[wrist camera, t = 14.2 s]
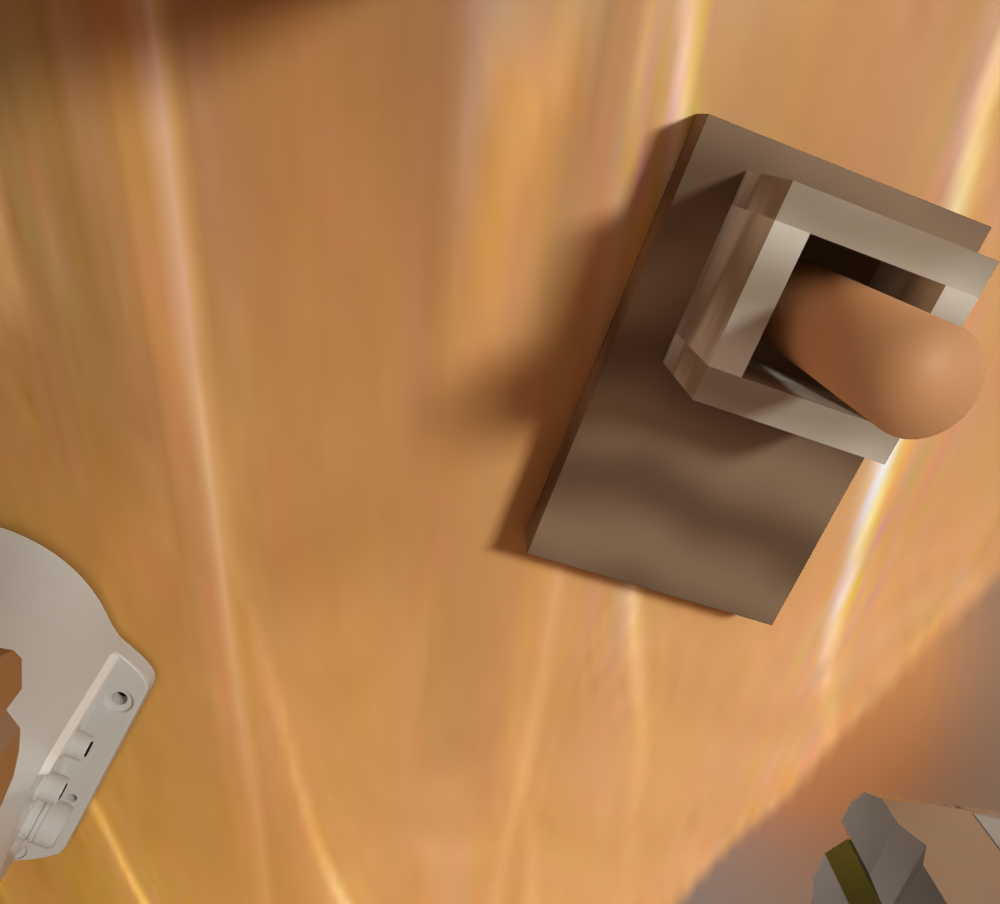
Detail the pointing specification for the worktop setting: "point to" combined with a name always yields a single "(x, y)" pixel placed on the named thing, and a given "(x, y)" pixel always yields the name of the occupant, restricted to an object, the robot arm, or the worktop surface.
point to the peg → (877, 352)
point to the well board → (736, 374)
